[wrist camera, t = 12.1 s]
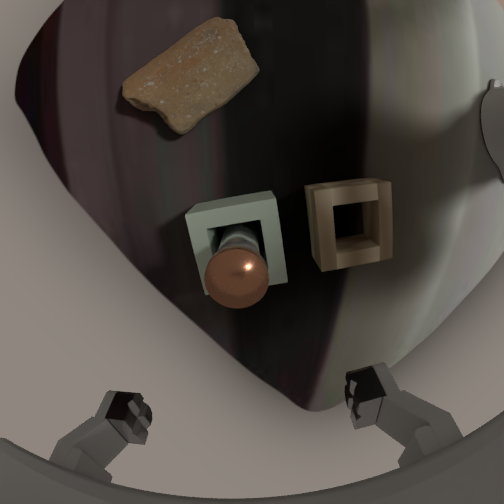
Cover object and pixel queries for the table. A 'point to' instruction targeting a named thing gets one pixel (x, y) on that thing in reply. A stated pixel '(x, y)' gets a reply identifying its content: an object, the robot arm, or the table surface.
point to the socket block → (231, 212)
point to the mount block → (374, 222)
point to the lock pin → (237, 268)
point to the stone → (193, 75)
